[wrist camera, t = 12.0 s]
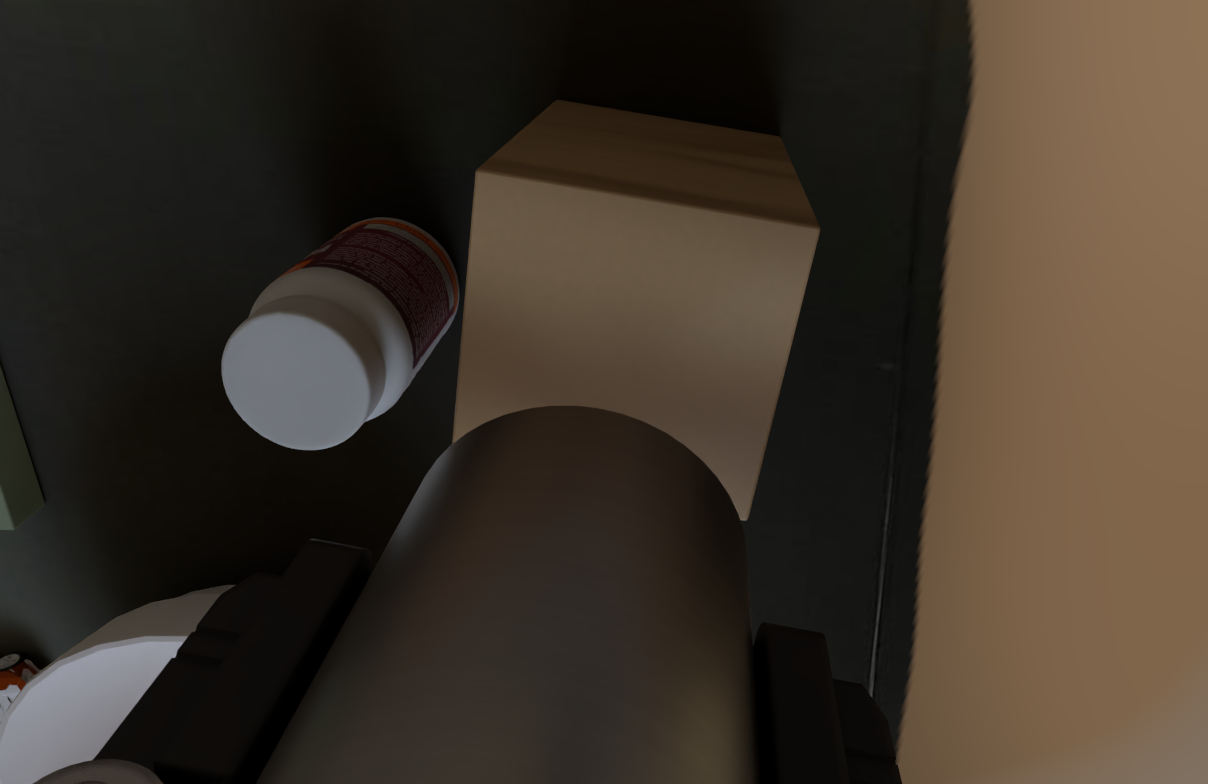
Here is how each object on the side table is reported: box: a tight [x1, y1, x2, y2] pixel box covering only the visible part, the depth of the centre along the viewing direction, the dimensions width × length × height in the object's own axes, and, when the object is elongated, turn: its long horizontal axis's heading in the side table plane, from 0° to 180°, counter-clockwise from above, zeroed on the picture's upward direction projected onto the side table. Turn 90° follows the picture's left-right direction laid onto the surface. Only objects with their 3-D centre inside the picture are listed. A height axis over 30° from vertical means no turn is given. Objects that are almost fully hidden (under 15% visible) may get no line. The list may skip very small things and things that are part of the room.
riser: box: [452, 100, 820, 521], centre depth 25 cm, size 7×7×11 cm
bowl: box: [0, 585, 235, 784], centre depth 37 cm, size 18×18×7 cm
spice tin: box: [256, 405, 761, 784], centre depth 10 cm, size 5×5×6 cm
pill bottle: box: [222, 217, 459, 450], centre depth 28 cm, size 5×5×8 cm
